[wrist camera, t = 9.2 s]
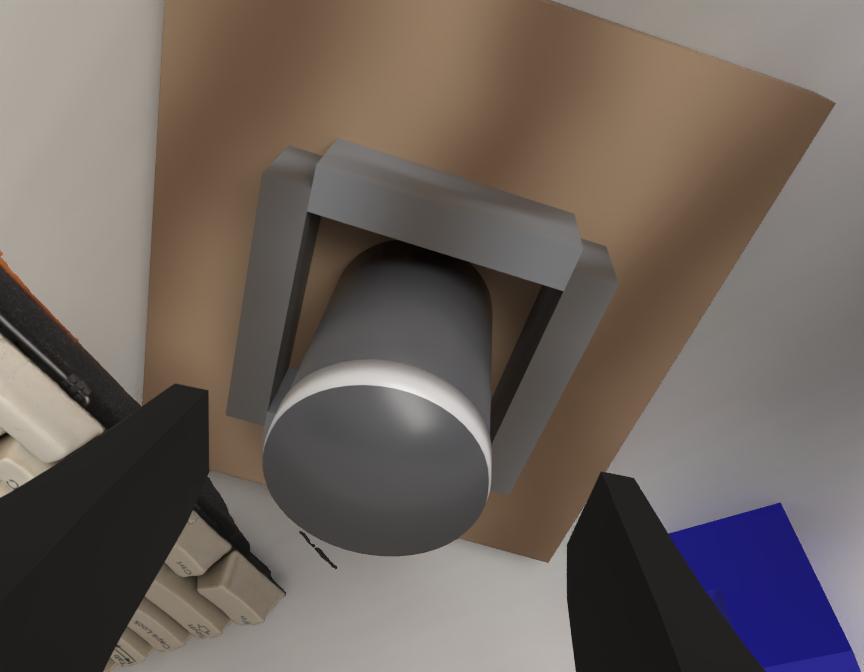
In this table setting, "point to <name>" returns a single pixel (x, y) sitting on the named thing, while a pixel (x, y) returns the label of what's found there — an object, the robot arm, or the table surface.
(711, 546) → the blue curved cradle
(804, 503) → the table surface
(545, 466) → the mount board
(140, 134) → the table surface
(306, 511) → the lens
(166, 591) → the mechanical keyboard
